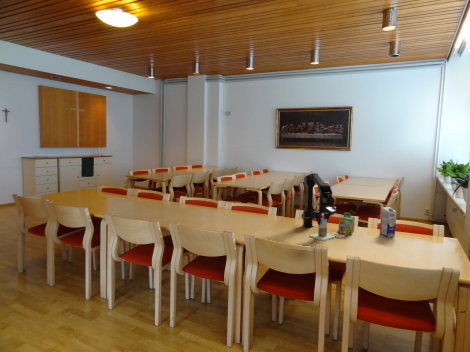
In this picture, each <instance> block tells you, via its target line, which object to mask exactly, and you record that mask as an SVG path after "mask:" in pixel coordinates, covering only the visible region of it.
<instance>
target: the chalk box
mask: <svg viewBox="0 0 470 352" xmlns="http://www.w3.org/2000/svg"><path fill="white" fill-rule="evenodd" d="M355 222H356V218H355V216H352V214H351V212H344V213H343V215H341V216H340V217H339V219H338V230H337V234H341V235H349V236H352V235H353V233H354V232H355Z"/></svg>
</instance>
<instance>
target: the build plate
mask: <svg viewBox="0 0 470 352" xmlns="http://www.w3.org/2000/svg"><path fill="white" fill-rule="evenodd" d="M329 234H330V233H327V236H325V237H321V236H318V232H317V233H314V234H309V237H311V238H312V239H316V240H319V241H323V242H325V240H326V241H329V240H332V238H333V239H335V238H336V237H335V236H332V235H329Z"/></svg>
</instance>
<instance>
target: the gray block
mask: <svg viewBox="0 0 470 352" xmlns="http://www.w3.org/2000/svg"><path fill="white" fill-rule="evenodd" d="M318 228H327V229H328V222H327V219H325V218H324V217H322V218H321V224H320V226H319V225H318Z"/></svg>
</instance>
